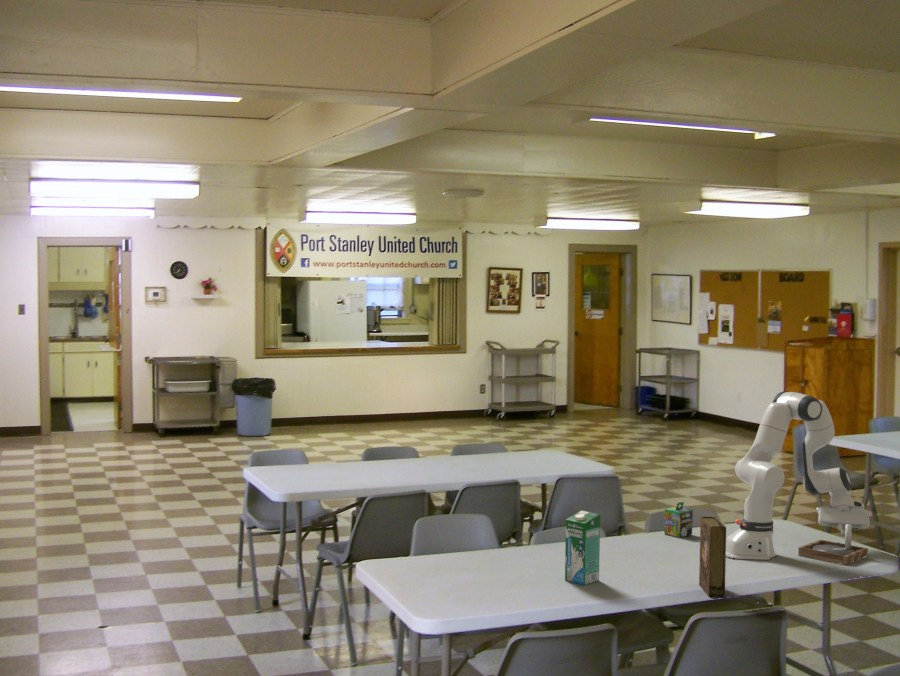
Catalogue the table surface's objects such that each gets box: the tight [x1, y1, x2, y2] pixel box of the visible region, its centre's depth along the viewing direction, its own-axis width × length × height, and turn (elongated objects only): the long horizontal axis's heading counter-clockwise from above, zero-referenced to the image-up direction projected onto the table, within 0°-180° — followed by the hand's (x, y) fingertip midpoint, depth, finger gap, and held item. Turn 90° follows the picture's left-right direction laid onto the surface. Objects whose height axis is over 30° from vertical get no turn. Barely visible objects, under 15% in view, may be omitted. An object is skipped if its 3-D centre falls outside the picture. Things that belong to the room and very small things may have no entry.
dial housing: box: [798, 539, 869, 565], centre depth 403 cm, size 20×20×4 cm
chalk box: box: [663, 501, 694, 538], centre depth 438 cm, size 9×9×15 cm
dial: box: [812, 524, 854, 555], centre depth 403 cm, size 16×16×11 cm
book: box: [698, 516, 727, 597], centre depth 352 cm, size 16×6×25 cm, turn 179°
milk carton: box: [564, 510, 601, 586], centre depth 363 cm, size 9×9×25 cm
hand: (845, 534), depth 410 cm, fingers closed
